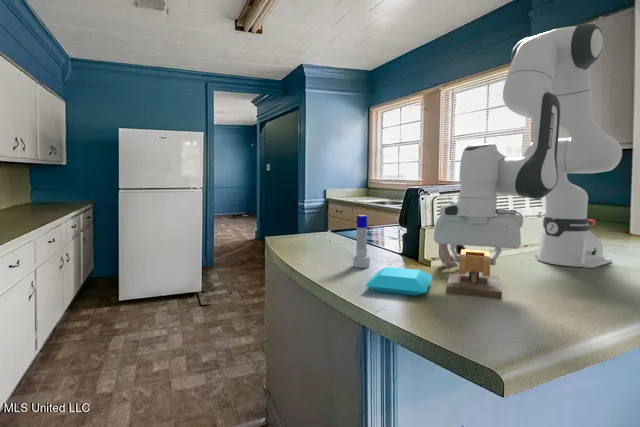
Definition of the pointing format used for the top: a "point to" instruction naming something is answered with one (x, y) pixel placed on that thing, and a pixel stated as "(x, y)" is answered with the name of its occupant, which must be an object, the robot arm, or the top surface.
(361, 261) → the bolt
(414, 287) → the prism
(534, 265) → the top surface
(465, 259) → the wooden notched block
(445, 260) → the toy
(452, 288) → the flange base
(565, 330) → the top surface
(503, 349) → the top surface
